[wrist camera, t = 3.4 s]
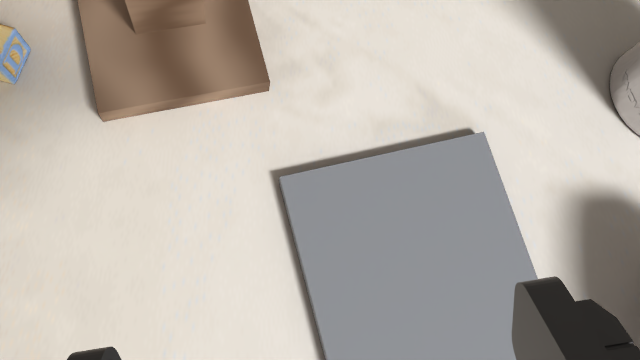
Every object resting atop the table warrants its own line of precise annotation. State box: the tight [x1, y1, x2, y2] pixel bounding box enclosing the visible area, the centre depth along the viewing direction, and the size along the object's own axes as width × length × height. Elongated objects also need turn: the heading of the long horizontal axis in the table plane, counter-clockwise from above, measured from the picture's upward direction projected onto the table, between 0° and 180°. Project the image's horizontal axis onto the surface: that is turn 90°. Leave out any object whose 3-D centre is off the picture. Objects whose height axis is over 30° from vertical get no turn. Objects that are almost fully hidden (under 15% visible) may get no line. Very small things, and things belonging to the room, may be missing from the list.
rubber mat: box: [279, 132, 538, 360], centre depth 38 cm, size 16×20×1 cm
